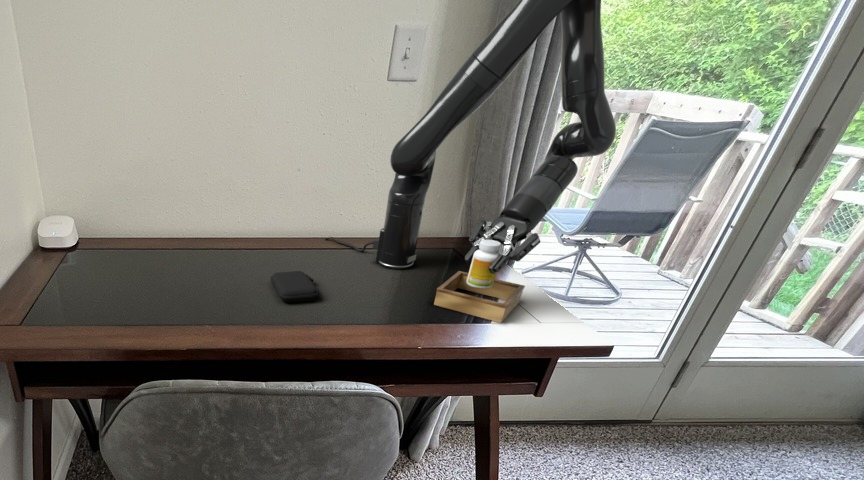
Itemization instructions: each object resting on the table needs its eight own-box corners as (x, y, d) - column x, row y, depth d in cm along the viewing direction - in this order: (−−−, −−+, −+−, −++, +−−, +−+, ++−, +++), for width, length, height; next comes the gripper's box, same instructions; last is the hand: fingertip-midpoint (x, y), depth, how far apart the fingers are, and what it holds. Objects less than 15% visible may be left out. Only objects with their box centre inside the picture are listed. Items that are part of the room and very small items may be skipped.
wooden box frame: (433, 304, 111) (436, 288, 109) (455, 286, 119) (459, 270, 117) (501, 323, 102) (506, 306, 100) (519, 301, 111) (525, 285, 109)
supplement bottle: (495, 290, 104) (508, 247, 99) (469, 288, 105) (480, 246, 100) (488, 280, 109) (500, 238, 103) (463, 279, 110) (474, 238, 104)
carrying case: (324, 301, 114) (308, 278, 127) (325, 290, 113) (308, 267, 125) (281, 305, 113) (268, 281, 126) (281, 293, 112) (269, 270, 124)
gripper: (496, 186, 105) (446, 248, 107) (561, 199, 94) (503, 268, 96) (505, 206, 110) (457, 266, 112) (567, 222, 99) (513, 287, 101)
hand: (478, 267), depth 104 cm, fingers closed on supplement bottle, 5 cm apart
